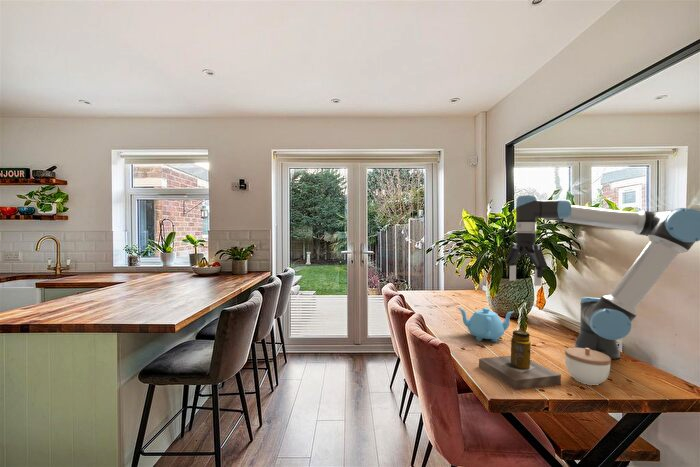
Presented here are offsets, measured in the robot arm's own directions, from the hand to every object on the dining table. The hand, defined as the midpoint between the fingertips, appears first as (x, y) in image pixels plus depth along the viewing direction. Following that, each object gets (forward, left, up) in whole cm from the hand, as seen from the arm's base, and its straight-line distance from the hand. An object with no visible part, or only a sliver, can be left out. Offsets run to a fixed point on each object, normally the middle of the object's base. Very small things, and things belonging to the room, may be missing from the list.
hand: (524, 283), depth 137 cm
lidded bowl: (0, +28, -29) cm, 40 cm away
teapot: (+5, -18, -29) cm, 34 cm away
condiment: (+20, +19, -26) cm, 38 cm away
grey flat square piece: (+20, +19, -29) cm, 40 cm away
